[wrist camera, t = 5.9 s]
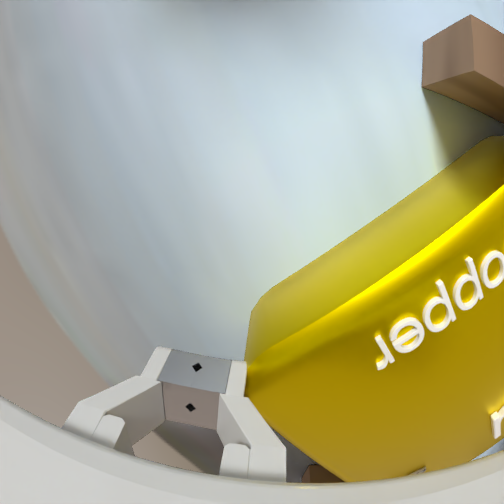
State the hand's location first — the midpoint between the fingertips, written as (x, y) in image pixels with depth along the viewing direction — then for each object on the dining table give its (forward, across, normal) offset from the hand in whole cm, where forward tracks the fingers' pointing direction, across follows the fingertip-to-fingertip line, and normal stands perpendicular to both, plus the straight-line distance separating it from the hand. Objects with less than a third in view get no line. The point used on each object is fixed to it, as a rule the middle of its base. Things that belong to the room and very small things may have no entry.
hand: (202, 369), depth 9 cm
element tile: (+4, -11, 0) cm, 12 cm away
